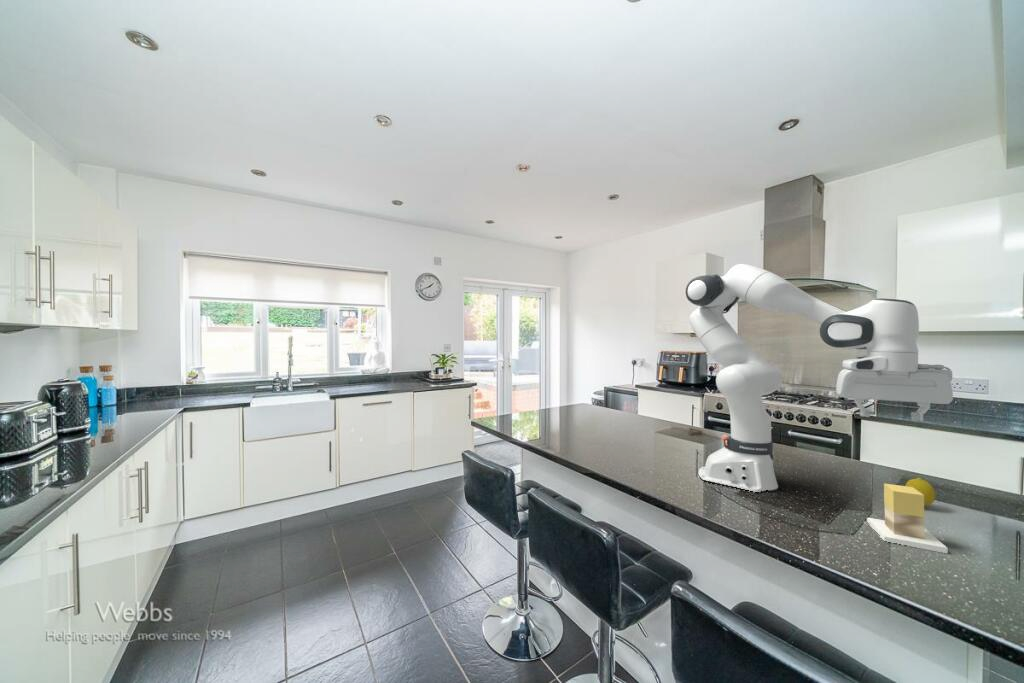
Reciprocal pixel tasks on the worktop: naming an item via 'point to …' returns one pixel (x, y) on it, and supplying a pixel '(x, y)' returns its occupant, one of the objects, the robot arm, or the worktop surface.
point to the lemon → (923, 489)
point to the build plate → (889, 536)
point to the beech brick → (905, 524)
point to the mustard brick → (904, 500)
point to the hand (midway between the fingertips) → (890, 418)
